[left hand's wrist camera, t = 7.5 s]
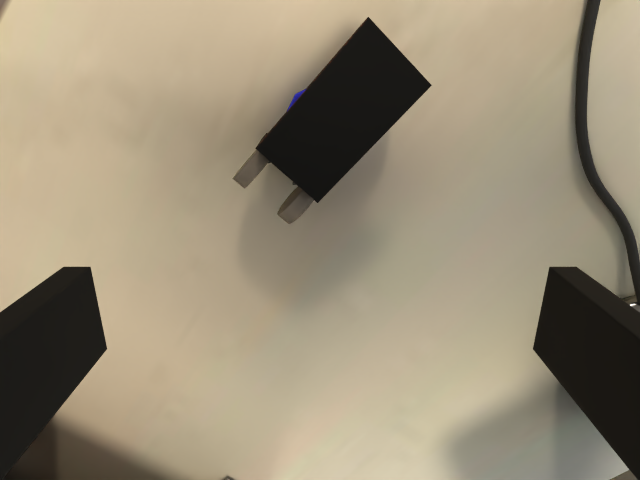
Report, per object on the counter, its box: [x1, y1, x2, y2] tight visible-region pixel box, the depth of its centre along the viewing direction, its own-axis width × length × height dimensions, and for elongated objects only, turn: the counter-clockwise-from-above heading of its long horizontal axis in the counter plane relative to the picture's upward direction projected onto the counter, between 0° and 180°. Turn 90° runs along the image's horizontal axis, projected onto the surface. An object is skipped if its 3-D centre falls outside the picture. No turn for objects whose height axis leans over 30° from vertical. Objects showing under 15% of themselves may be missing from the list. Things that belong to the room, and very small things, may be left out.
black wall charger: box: [233, 17, 431, 224], centre depth 33 cm, size 7×8×15 cm
